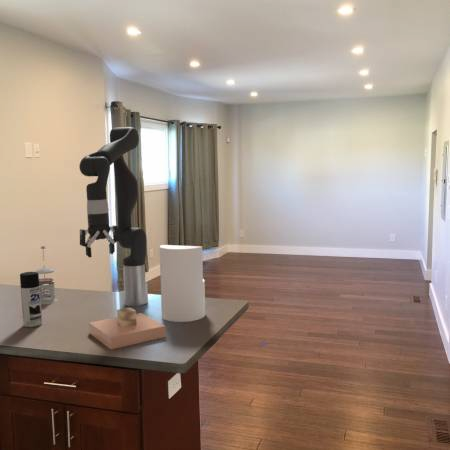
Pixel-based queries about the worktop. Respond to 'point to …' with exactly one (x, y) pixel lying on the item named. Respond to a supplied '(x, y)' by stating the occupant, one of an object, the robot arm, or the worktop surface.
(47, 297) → the french press
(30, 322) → the spray can
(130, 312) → the maple block
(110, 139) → the robot arm
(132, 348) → the worktop surface
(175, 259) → the cylinder
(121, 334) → the terracotta platform
